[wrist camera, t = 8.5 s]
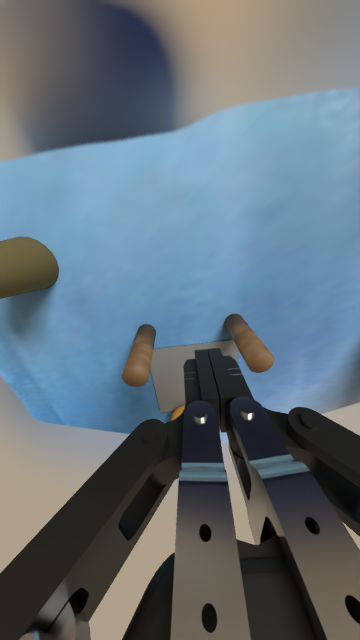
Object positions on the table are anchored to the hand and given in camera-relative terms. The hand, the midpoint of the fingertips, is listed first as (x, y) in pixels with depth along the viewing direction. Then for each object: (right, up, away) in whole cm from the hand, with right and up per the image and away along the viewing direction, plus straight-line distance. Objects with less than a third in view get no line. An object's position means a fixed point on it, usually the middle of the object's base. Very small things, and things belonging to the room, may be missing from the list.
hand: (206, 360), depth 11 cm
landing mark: (+1, -8, +20) cm, 21 cm away
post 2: (+6, +2, +15) cm, 16 cm away
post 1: (-6, +1, +15) cm, 17 cm away
